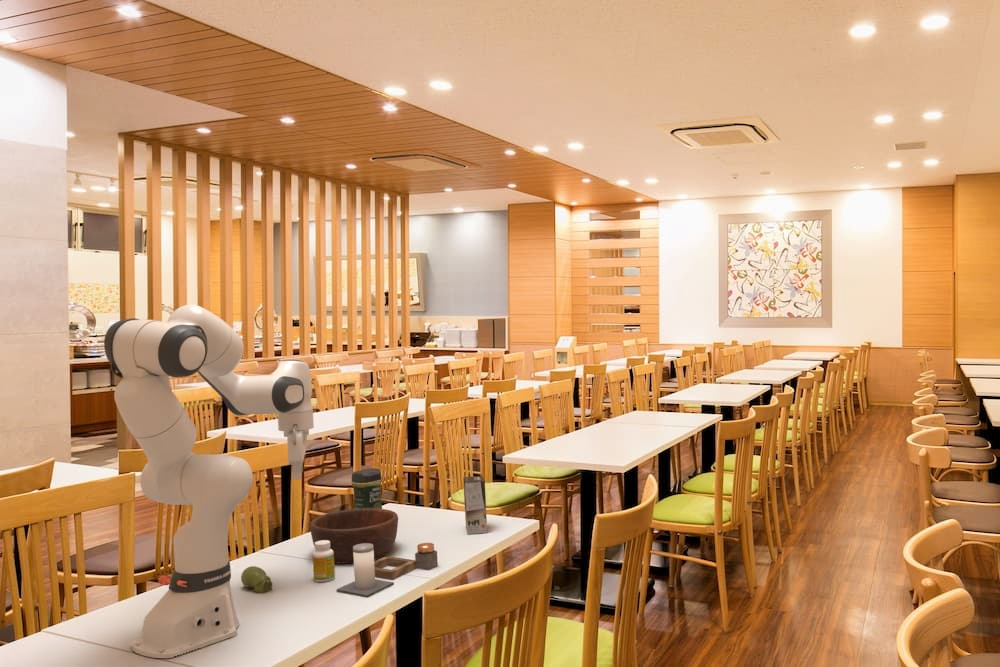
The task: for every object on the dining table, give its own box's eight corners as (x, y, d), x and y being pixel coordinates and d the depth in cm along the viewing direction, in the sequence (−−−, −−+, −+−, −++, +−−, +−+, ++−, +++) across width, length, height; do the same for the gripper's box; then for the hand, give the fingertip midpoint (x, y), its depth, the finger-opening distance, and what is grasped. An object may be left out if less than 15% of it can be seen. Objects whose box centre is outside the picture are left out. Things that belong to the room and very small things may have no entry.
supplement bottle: (329, 582, 208) (327, 545, 208) (310, 582, 209) (308, 545, 209) (338, 575, 213) (336, 539, 213) (319, 575, 214) (317, 539, 214)
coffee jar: (365, 531, 257) (362, 473, 257) (349, 527, 262) (346, 470, 262) (388, 524, 265) (385, 467, 264) (372, 521, 270) (369, 465, 269)
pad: (367, 597, 195) (367, 595, 195) (336, 591, 201) (336, 589, 201) (393, 584, 204) (393, 582, 204) (363, 579, 209) (363, 577, 209)
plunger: (428, 566, 214) (427, 548, 214) (415, 564, 216) (414, 546, 216) (438, 562, 218) (437, 543, 218) (425, 560, 220) (424, 542, 220)
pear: (256, 561, 211) (278, 574, 205) (255, 580, 212) (277, 593, 205) (237, 566, 207) (259, 580, 201) (236, 586, 208) (258, 600, 201)
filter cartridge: (366, 590, 199) (364, 549, 199) (350, 587, 201) (348, 547, 201) (379, 584, 203) (377, 544, 203) (364, 581, 206) (362, 542, 205)
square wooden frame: (404, 581, 206) (403, 566, 206) (361, 574, 213) (360, 559, 213) (437, 565, 218) (436, 550, 218) (396, 559, 225) (395, 544, 225)
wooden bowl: (297, 567, 223) (294, 530, 223) (331, 541, 248) (329, 507, 247) (383, 567, 219) (381, 530, 218) (410, 541, 243) (408, 507, 243)
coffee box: (488, 533, 248) (485, 481, 247) (467, 534, 247) (464, 482, 247) (485, 525, 257) (482, 475, 256) (465, 527, 256) (462, 476, 256)
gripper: (307, 426, 198) (309, 482, 199) (309, 417, 218) (311, 468, 219) (280, 428, 197) (283, 484, 197) (285, 419, 217) (287, 470, 217)
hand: (298, 476), depth 208 cm, fingers open, 8 cm apart
